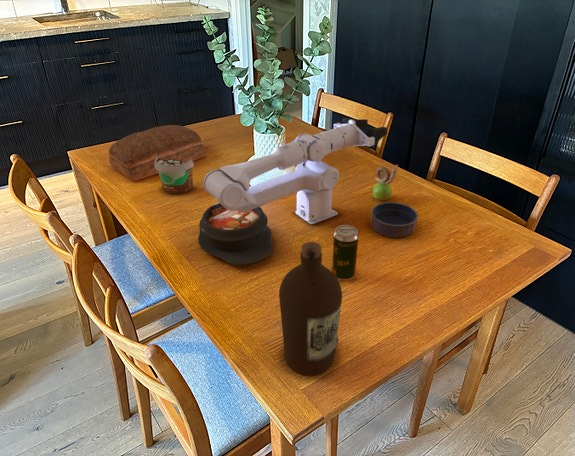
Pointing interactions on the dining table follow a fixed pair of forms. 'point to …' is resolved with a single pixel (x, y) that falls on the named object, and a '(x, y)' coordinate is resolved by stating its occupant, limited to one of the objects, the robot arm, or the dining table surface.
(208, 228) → the casserole
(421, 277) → the dining table surface
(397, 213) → the bowl
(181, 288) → the dining table surface
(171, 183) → the food container
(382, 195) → the snail figurine
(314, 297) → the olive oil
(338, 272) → the beer can
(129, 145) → the bread
